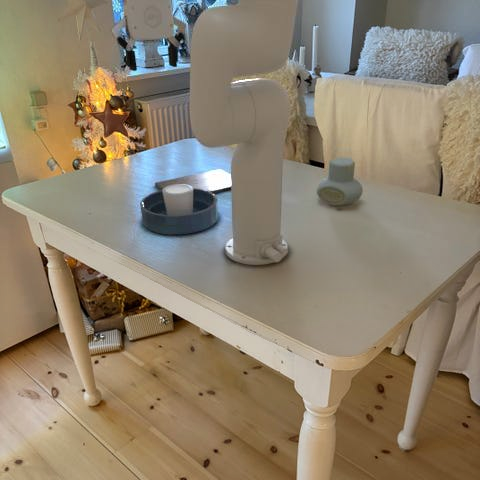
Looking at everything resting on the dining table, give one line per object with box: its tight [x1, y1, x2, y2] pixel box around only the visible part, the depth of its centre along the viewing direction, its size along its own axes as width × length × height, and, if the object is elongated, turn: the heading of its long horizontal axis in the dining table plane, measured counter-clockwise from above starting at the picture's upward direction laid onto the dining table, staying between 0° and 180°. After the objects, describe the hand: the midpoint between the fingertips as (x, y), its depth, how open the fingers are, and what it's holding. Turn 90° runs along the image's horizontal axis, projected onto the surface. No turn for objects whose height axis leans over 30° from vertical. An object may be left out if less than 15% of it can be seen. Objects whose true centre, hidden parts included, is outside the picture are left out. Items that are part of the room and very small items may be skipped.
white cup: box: [162, 184, 193, 215], centre depth 111 cm, size 7×7×7 cm
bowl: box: [139, 188, 219, 235], centre depth 112 cm, size 17×17×4 cm
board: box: [154, 168, 231, 195], centre depth 131 cm, size 14×20×1 cm
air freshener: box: [316, 157, 364, 208], centre depth 117 cm, size 11×8×10 cm
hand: (153, 68), depth 112 cm, fingers open, 9 cm apart
